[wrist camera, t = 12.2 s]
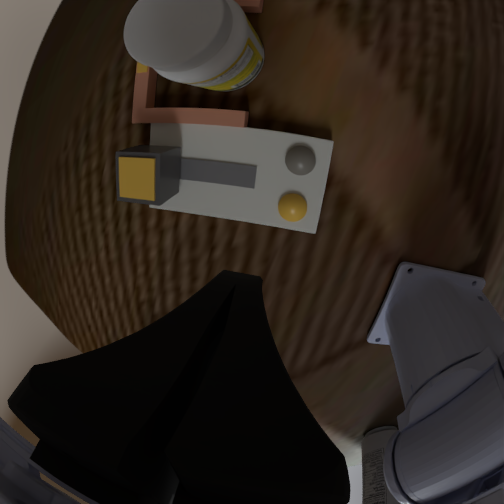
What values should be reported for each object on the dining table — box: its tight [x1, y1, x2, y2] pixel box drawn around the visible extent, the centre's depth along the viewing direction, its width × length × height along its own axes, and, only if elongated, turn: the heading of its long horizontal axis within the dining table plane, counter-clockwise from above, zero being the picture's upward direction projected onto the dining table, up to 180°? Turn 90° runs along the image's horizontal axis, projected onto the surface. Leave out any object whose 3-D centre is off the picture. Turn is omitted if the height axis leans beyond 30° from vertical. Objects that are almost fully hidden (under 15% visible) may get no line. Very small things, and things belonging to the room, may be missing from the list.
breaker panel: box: [150, 123, 334, 234], centre depth 17 cm, size 12×6×1 cm, turn 84°
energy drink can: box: [361, 426, 401, 504], centre depth 24 cm, size 6×6×15 cm
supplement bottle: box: [124, 0, 264, 91], centre depth 10 cm, size 5×5×8 cm
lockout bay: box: [132, 0, 263, 128], centre depth 14 cm, size 8×9×1 cm
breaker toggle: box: [116, 145, 181, 206], centre depth 16 cm, size 3×3×3 cm
